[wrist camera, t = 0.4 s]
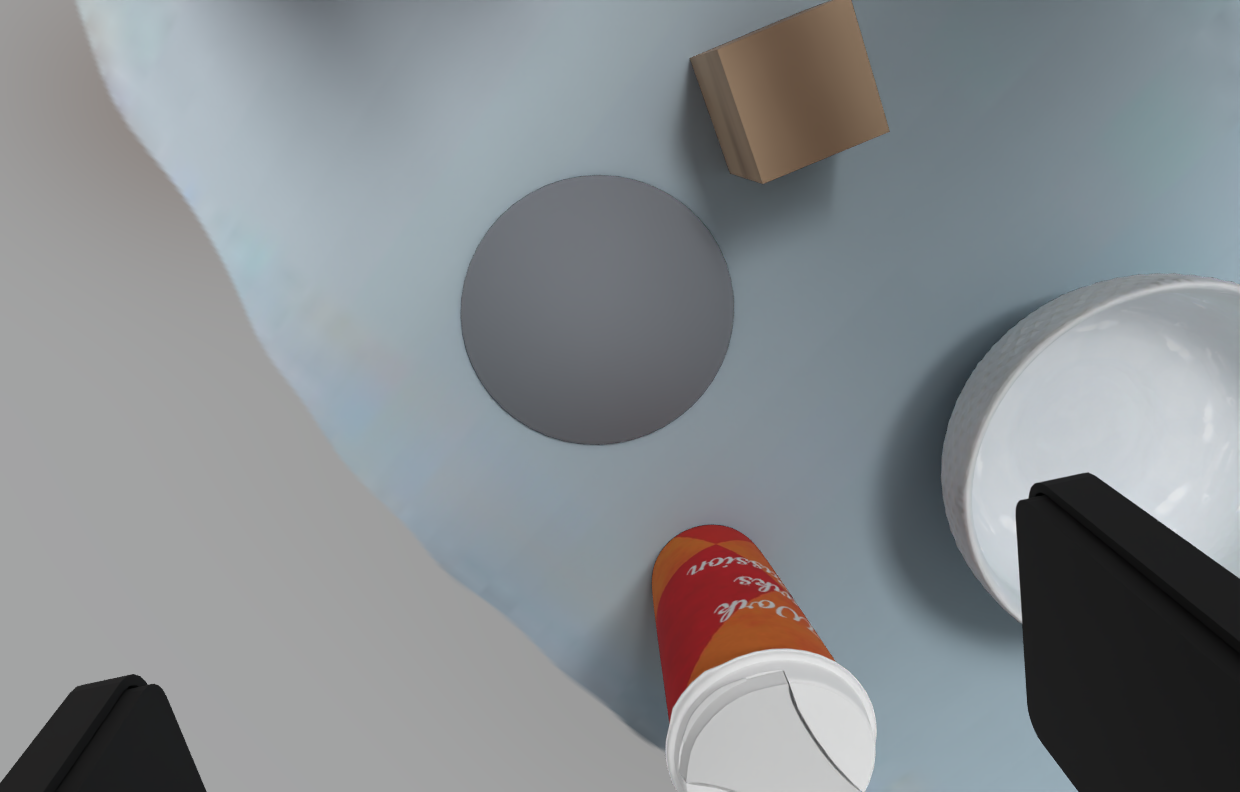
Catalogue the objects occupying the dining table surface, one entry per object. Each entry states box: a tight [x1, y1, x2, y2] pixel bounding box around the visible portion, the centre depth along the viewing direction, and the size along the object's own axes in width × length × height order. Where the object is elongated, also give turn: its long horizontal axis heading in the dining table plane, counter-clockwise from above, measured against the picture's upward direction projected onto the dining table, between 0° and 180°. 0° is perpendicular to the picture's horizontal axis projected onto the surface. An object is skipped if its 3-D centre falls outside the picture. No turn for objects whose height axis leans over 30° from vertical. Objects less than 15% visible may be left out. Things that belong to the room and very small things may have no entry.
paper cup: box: [652, 525, 877, 792], centre depth 39 cm, size 8×8×14 cm
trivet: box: [461, 175, 734, 444], centre depth 42 cm, size 12×12×1 cm
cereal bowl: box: [941, 273, 1240, 624], centre depth 42 cm, size 17×17×7 cm
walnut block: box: [690, 0, 890, 184], centre depth 37 cm, size 5×5×6 cm
